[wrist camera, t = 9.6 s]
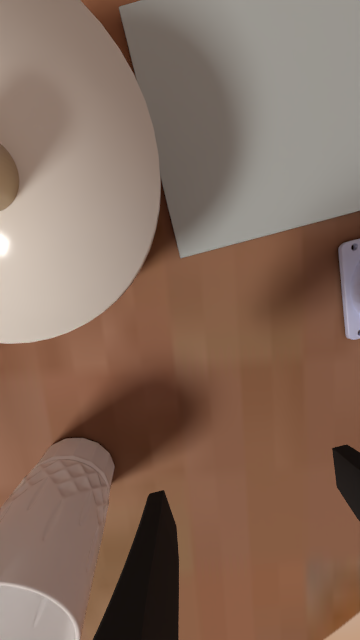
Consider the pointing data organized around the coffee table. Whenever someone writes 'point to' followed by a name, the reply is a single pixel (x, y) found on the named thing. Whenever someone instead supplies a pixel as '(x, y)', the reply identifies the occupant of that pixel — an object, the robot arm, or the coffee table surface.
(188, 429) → the coffee table surface
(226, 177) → the mat
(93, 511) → the white cup
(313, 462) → the coffee table surface
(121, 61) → the lid
